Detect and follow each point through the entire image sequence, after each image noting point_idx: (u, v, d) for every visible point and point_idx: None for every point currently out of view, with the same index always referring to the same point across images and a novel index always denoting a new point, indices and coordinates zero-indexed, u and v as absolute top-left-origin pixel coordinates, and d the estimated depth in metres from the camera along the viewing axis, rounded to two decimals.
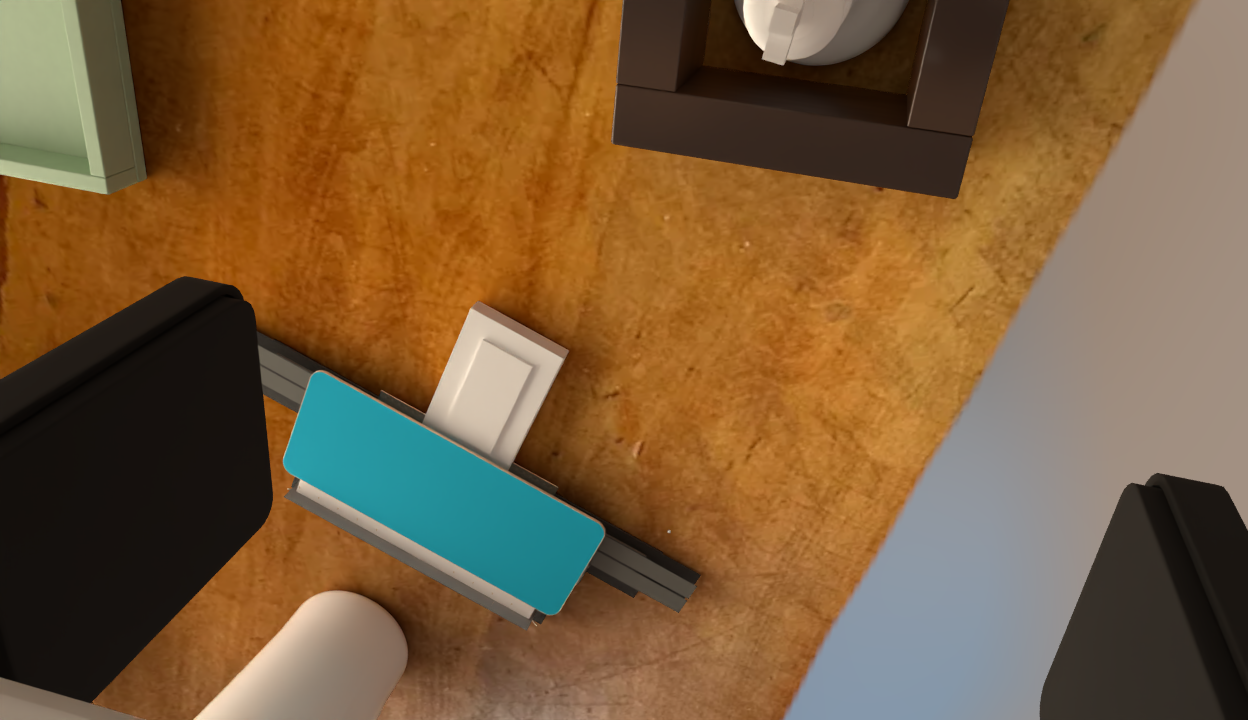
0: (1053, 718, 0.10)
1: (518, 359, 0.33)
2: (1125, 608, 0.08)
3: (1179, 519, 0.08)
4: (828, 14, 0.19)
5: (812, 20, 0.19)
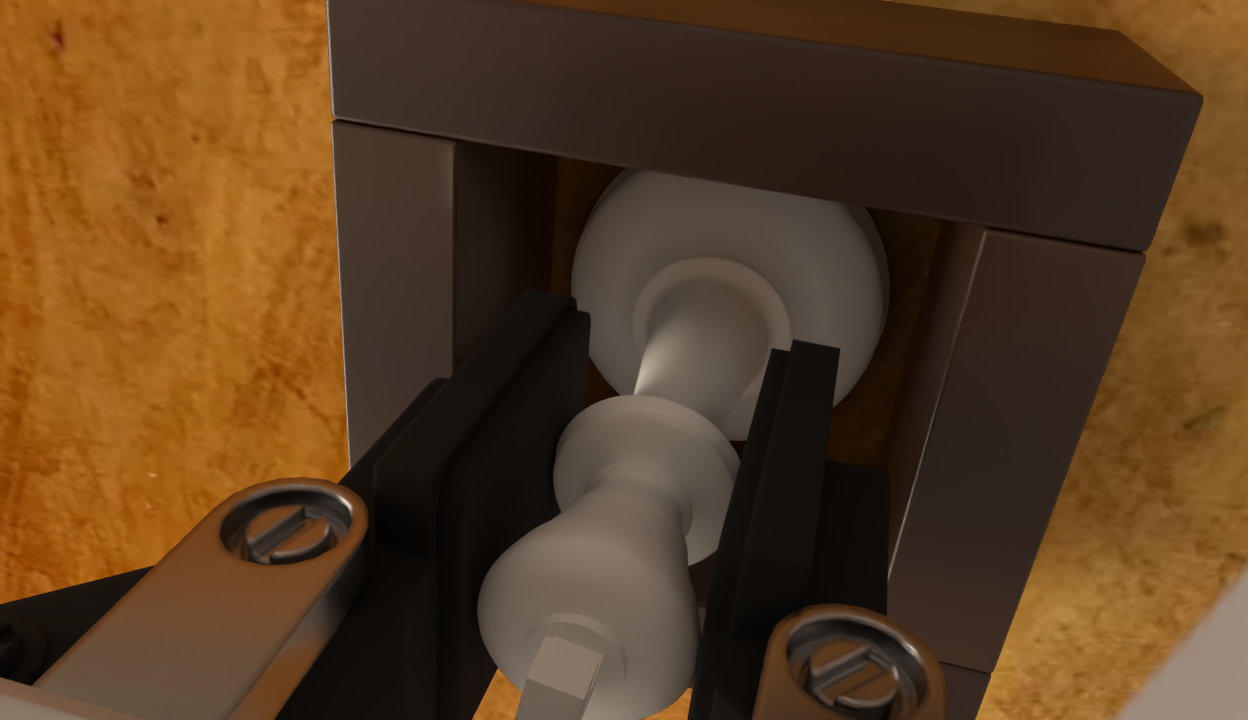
0: None
1: None
2: None
3: (787, 369, 0.10)
4: (661, 671, 0.08)
5: (624, 683, 0.08)
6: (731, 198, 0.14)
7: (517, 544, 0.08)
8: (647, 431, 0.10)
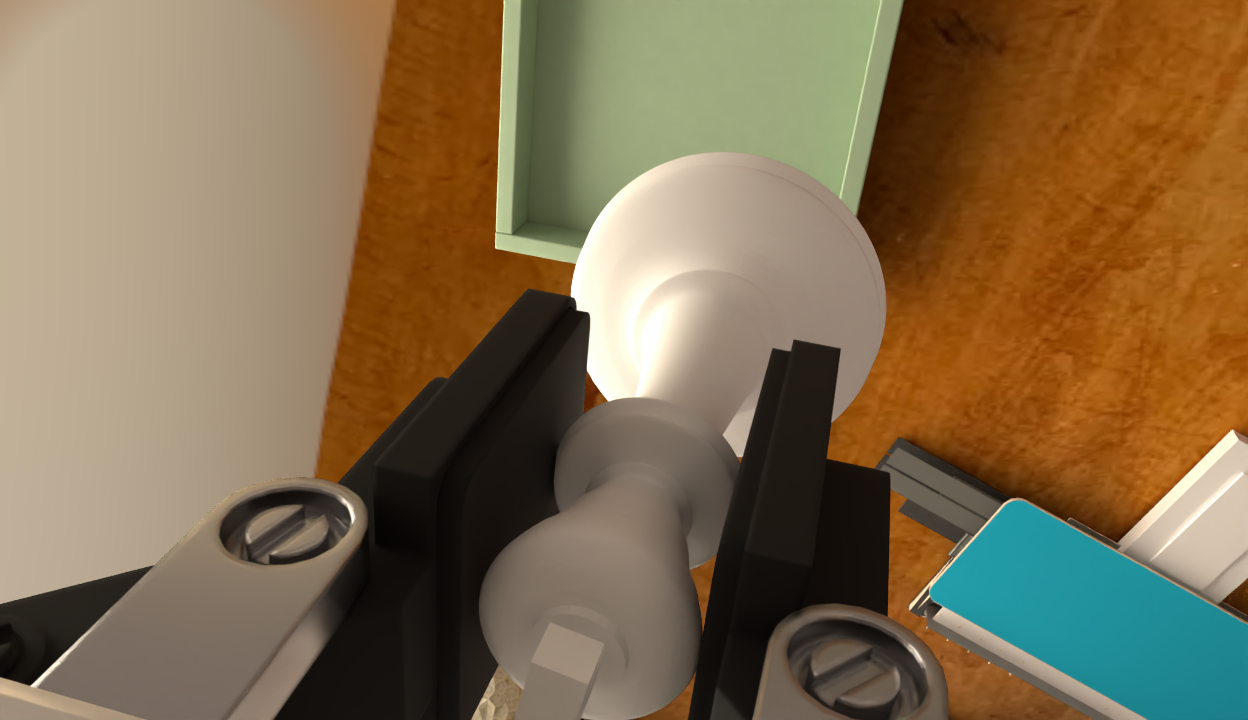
0: None
1: None
2: None
3: (788, 369, 0.10)
4: (662, 666, 0.08)
5: (625, 677, 0.08)
6: (731, 214, 0.14)
7: (520, 537, 0.08)
8: (649, 433, 0.10)
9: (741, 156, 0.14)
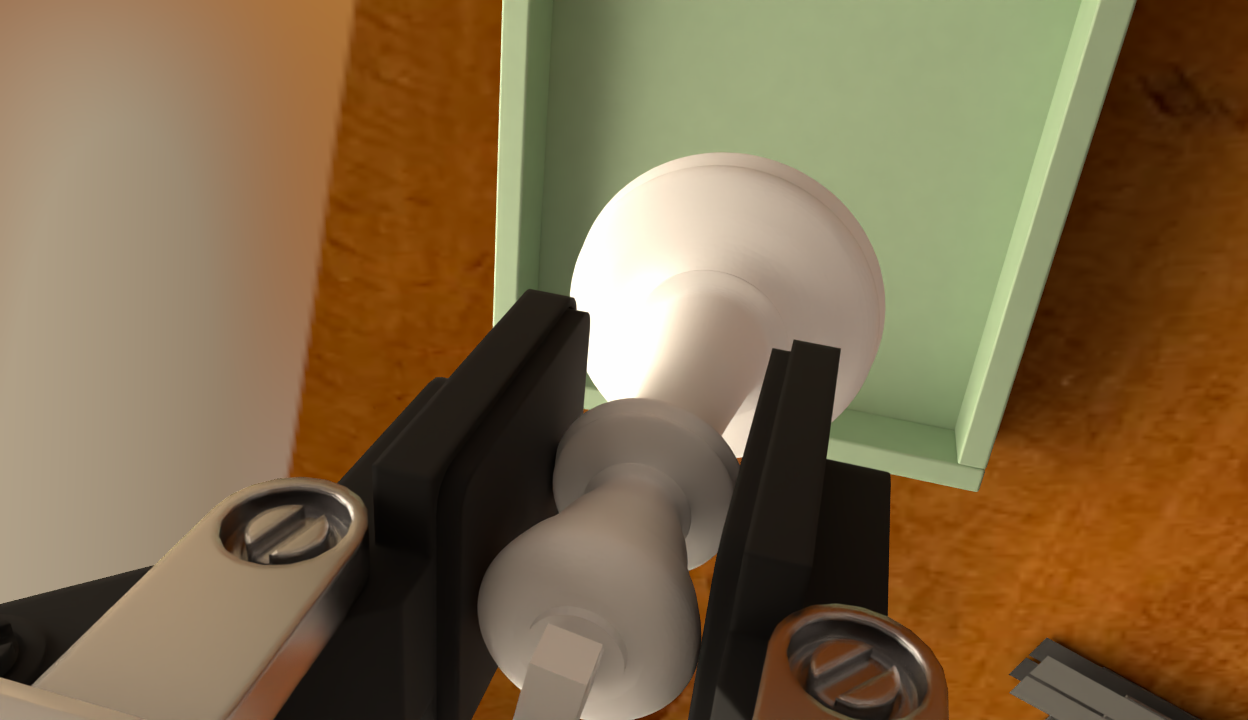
0: None
1: None
2: None
3: (788, 369, 0.10)
4: (661, 667, 0.08)
5: (624, 678, 0.08)
6: (730, 215, 0.14)
7: (519, 537, 0.08)
8: (647, 433, 0.10)
9: (740, 157, 0.14)
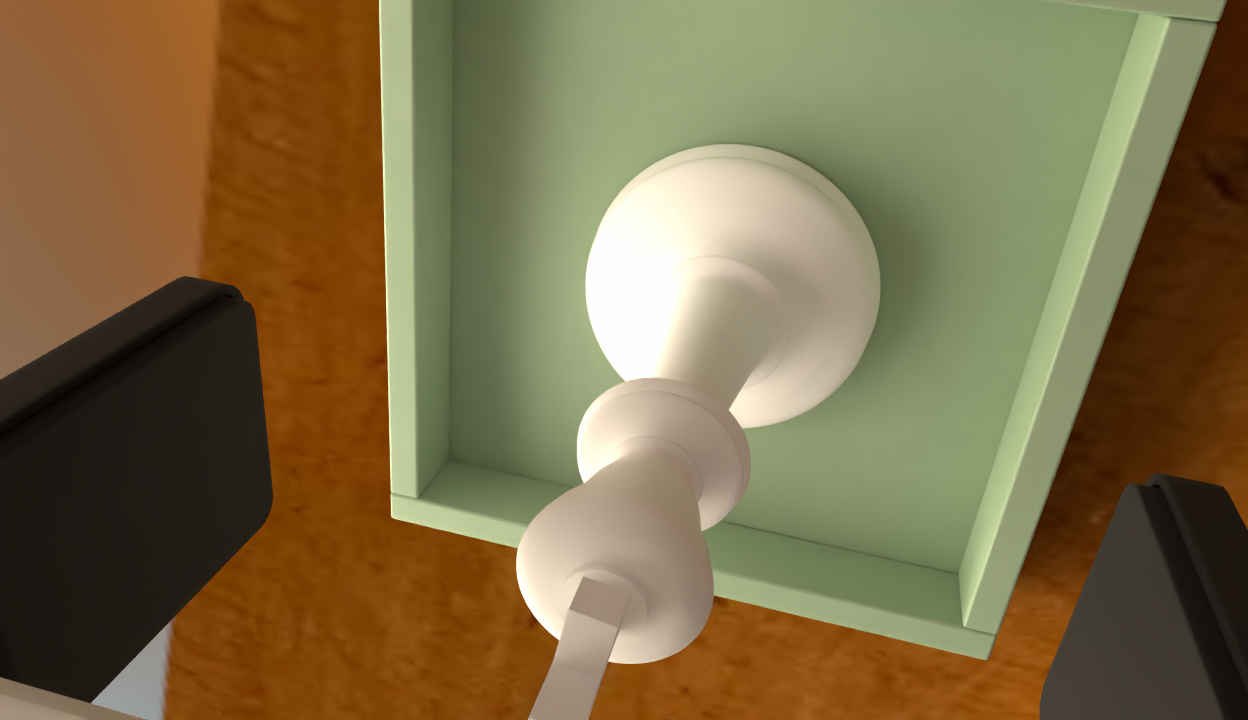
0: (1053, 718, 0.10)
1: None
2: (1125, 608, 0.08)
3: (1179, 519, 0.08)
4: (679, 614, 0.09)
5: (646, 625, 0.09)
6: (735, 203, 0.15)
7: (553, 503, 0.09)
8: (663, 409, 0.11)
9: (744, 147, 0.15)
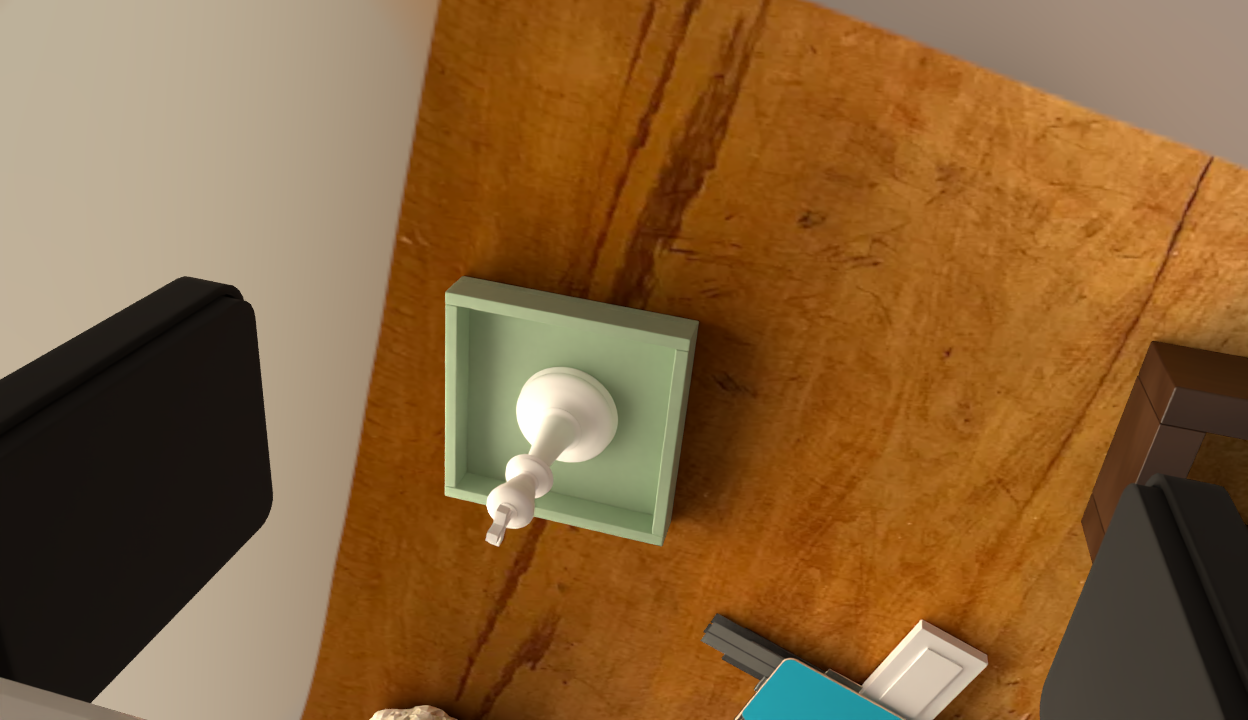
0: (1053, 718, 0.10)
1: (952, 662, 0.47)
2: (1125, 608, 0.08)
3: (1179, 519, 0.08)
4: (525, 515, 0.39)
5: (517, 517, 0.39)
6: (563, 389, 0.45)
7: (495, 488, 0.39)
8: (527, 463, 0.41)
9: (568, 368, 0.45)
